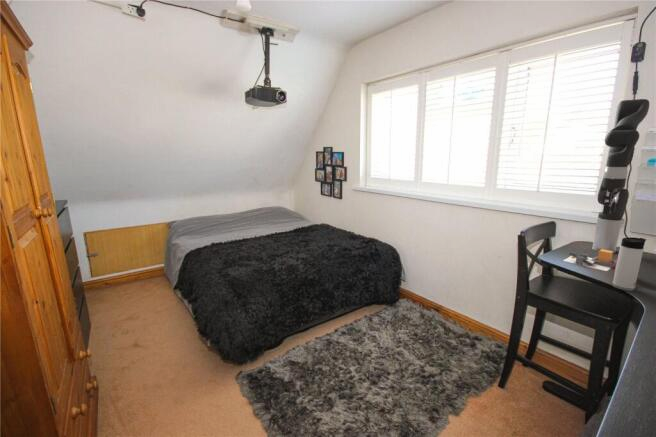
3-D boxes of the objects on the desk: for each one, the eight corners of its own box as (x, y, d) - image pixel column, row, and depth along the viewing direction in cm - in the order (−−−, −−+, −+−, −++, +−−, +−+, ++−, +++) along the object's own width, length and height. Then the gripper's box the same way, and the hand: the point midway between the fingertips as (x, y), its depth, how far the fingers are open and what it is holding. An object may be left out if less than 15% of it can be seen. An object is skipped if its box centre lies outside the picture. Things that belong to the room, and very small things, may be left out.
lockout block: (599, 261, 145) (601, 249, 143) (610, 263, 142) (613, 251, 140) (596, 263, 142) (599, 250, 141) (608, 265, 139) (610, 253, 138)
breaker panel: (573, 256, 155) (574, 253, 154) (616, 265, 142) (616, 262, 142) (562, 263, 146) (563, 259, 146) (606, 273, 134) (607, 269, 133)
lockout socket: (595, 259, 147) (596, 256, 147) (617, 264, 141) (618, 260, 141) (590, 262, 143) (590, 259, 143) (612, 268, 137) (613, 264, 136)
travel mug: (639, 291, 117) (651, 241, 112) (619, 290, 118) (630, 240, 114) (627, 284, 123) (638, 236, 118) (608, 283, 124) (618, 235, 120)
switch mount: (580, 260, 146) (581, 253, 145) (586, 261, 144) (587, 255, 143) (575, 263, 142) (576, 256, 142) (581, 264, 140) (583, 257, 140)
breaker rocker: (572, 252, 147) (573, 250, 146) (593, 264, 141) (595, 261, 140) (569, 254, 145) (570, 252, 144) (590, 266, 139) (592, 263, 138)
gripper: (608, 175, 143) (602, 209, 147) (599, 177, 135) (593, 214, 139) (630, 176, 138) (623, 211, 141) (622, 179, 129) (615, 216, 133)
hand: (608, 212), depth 140 cm, fingers open, 8 cm apart
